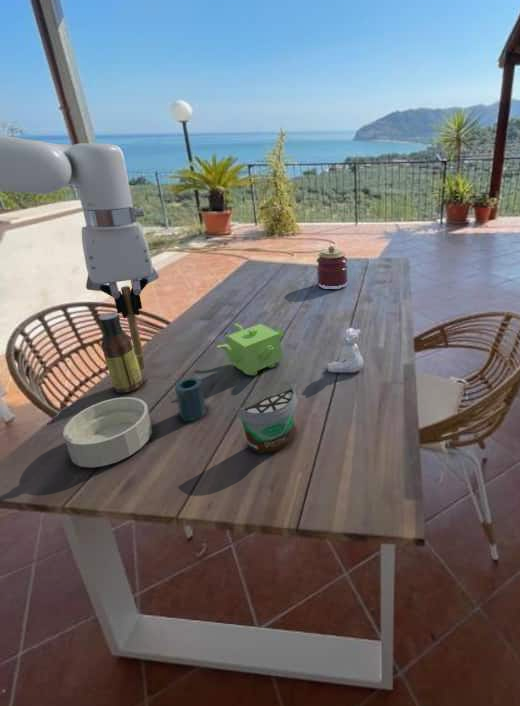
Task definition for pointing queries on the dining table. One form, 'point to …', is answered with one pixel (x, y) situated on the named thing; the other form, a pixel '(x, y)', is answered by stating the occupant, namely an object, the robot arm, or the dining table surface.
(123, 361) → the sauce bottle
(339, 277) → the kitchen canister
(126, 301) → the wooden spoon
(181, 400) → the crock
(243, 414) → the food container
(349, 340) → the sitting furry creature
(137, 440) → the bowl
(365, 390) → the dining table surface
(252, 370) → the kettle
